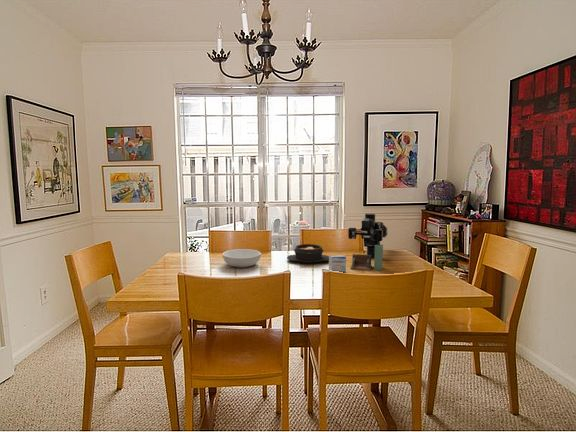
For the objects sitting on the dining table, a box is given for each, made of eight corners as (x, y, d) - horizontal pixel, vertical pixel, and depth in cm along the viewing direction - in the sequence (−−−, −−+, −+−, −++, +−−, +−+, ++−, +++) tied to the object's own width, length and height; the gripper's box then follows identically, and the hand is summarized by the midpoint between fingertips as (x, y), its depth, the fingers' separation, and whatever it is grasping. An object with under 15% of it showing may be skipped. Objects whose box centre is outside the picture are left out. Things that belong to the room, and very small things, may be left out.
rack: (352, 264, 198) (352, 253, 197) (371, 265, 195) (371, 254, 195) (350, 269, 189) (350, 257, 188) (369, 270, 186) (370, 259, 185)
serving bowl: (224, 272, 183) (224, 259, 182) (221, 261, 203) (220, 250, 202) (264, 269, 189) (264, 256, 188) (257, 259, 209) (257, 247, 208)
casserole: (286, 265, 196) (286, 250, 195) (287, 256, 215) (287, 243, 214) (331, 265, 196) (332, 250, 195) (328, 257, 214) (329, 243, 213)
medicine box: (331, 273, 180) (331, 257, 179) (328, 271, 184) (328, 255, 183) (346, 273, 182) (346, 256, 180) (342, 270, 186) (343, 254, 185)
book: (374, 267, 192) (375, 244, 191) (382, 267, 191) (383, 244, 190) (374, 269, 188) (374, 246, 186) (381, 270, 187) (382, 246, 185)
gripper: (352, 217, 207) (344, 221, 193) (385, 219, 199) (379, 223, 185) (352, 236, 208) (344, 241, 195) (384, 238, 200) (378, 244, 186)
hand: (361, 237), depth 190 cm, fingers open, 9 cm apart
